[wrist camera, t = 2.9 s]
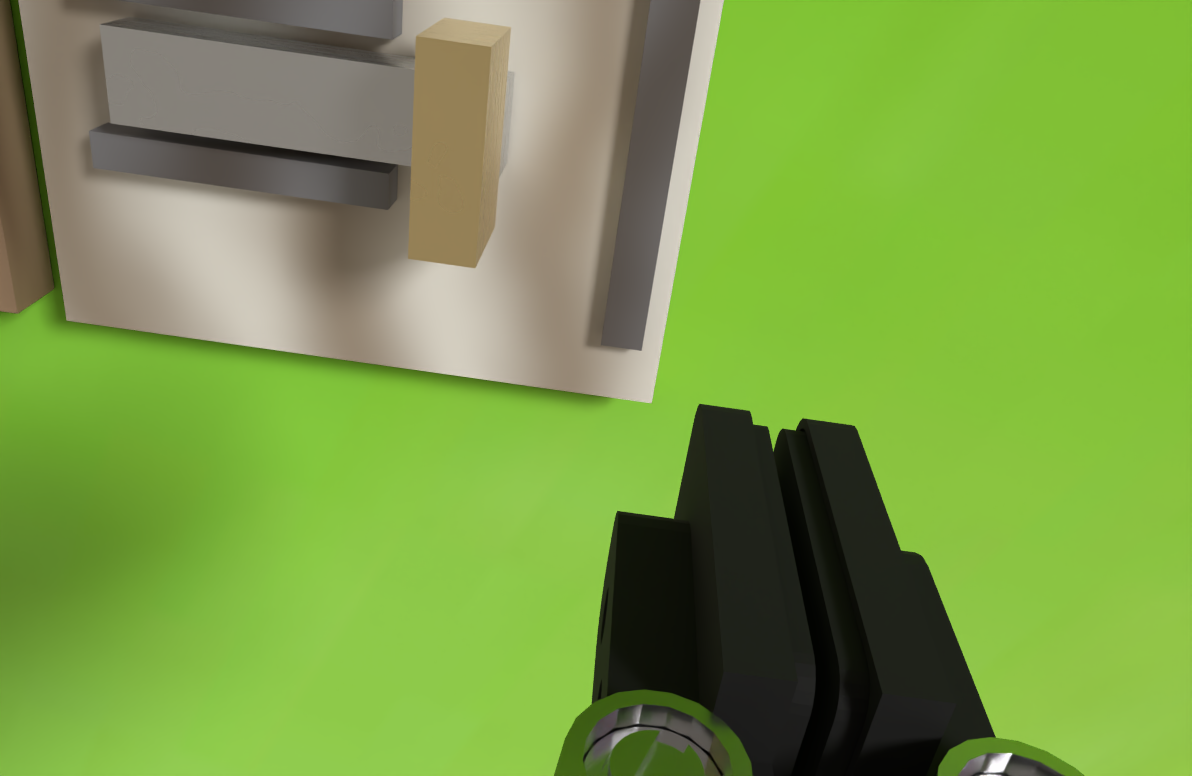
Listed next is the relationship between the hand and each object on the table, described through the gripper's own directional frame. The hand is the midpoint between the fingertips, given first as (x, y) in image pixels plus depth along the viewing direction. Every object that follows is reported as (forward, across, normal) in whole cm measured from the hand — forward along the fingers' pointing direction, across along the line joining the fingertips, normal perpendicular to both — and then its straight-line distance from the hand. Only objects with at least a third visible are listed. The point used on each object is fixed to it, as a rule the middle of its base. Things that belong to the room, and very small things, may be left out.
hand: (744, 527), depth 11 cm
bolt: (+17, +10, 0) cm, 19 cm away
